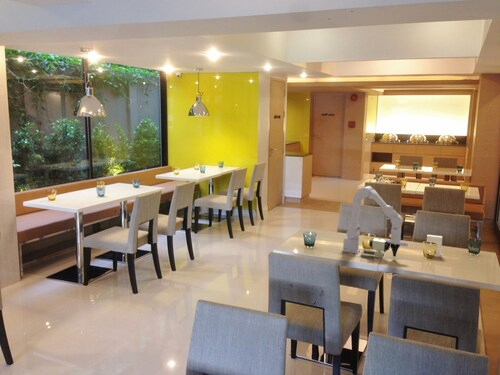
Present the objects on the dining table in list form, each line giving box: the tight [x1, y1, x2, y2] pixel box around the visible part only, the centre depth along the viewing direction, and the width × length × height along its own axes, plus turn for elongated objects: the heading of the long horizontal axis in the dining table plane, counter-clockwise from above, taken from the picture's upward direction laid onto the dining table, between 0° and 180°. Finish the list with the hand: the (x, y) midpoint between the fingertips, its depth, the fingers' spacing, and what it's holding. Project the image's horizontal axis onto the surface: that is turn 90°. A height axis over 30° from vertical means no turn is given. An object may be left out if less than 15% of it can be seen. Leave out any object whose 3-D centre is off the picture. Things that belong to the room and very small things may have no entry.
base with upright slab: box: [426, 234, 443, 257], centre depth 287 cm, size 9×9×12 cm
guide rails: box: [360, 249, 376, 259], centre depth 283 cm, size 8×11×2 cm
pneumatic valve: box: [368, 237, 391, 259], centre depth 280 cm, size 6×12×12 cm, turn 54°
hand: (394, 256), depth 277 cm, fingers closed
